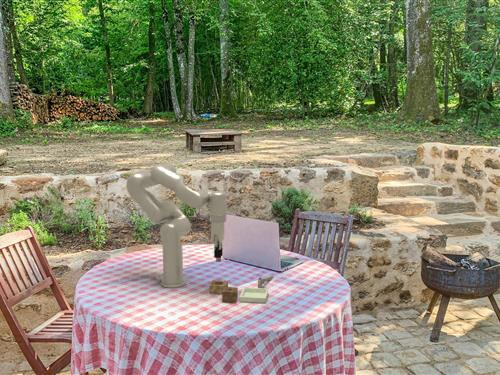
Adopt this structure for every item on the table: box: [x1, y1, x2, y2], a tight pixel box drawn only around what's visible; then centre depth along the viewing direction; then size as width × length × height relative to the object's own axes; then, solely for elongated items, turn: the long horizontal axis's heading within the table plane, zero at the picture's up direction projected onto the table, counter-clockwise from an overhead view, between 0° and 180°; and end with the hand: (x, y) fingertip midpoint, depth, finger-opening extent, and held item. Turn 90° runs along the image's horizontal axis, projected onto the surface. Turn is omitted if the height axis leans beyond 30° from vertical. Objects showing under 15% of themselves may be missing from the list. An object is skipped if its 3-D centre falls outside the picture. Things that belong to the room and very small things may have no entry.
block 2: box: [221, 286, 239, 304], centre depth 222 cm, size 6×6×5 cm
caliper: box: [257, 275, 274, 288], centre depth 243 cm, size 20×1×6 cm, turn 159°
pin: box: [215, 246, 222, 263], centre depth 230 cm, size 2×2×8 cm
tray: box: [239, 286, 269, 305], centre depth 225 cm, size 12×12×2 cm
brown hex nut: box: [208, 279, 229, 295], centre depth 233 cm, size 7×7×4 cm
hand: (218, 256), depth 231 cm, fingers closed on pin, 2 cm apart
